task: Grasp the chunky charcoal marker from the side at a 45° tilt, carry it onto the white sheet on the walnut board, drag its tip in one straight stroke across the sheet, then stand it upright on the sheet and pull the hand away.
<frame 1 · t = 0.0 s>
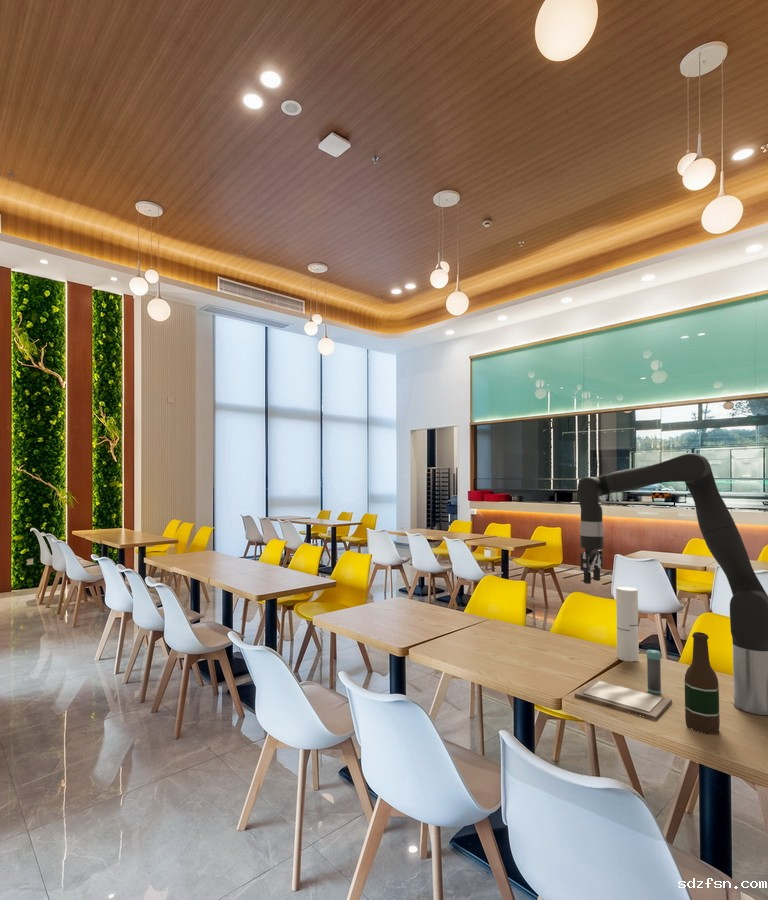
hand: (592, 581, 180), 29 cm above the table, tool pointing down, fingers open, 8 cm apart
beer bottle: (702, 728, 135), on the table
writing board: (622, 699, 152), on the table
marker: (654, 692, 158), on the table
cylindrical container: (627, 659, 189), on the table
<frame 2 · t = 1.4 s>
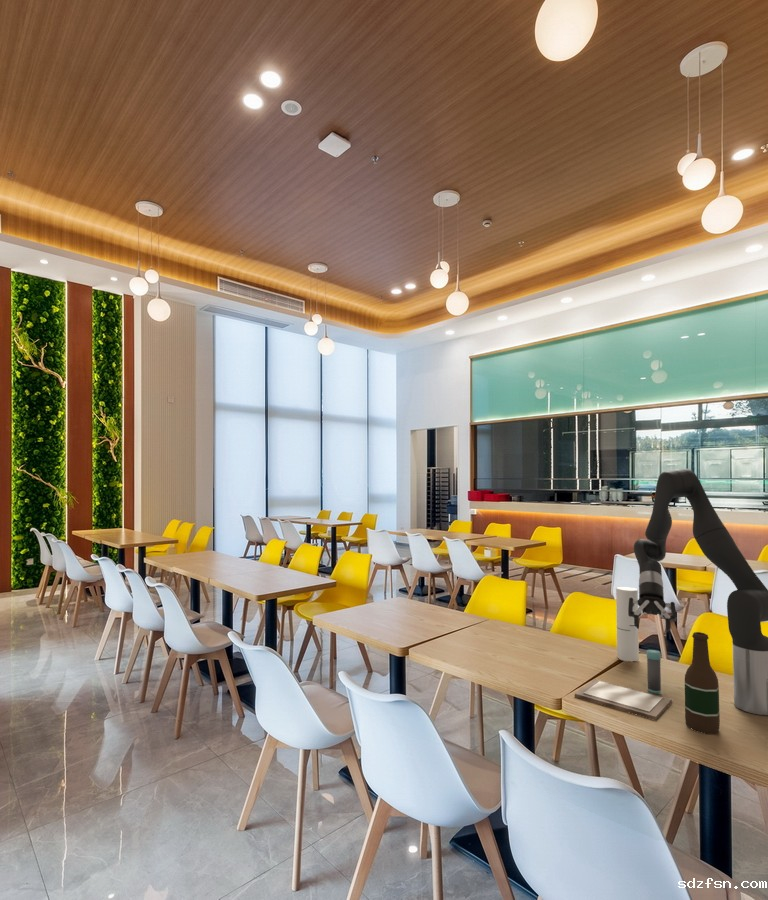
hand: (652, 629, 170), 16 cm above the table, tool tilted 45°, fingers open, 8 cm apart
nothing on the table moved.
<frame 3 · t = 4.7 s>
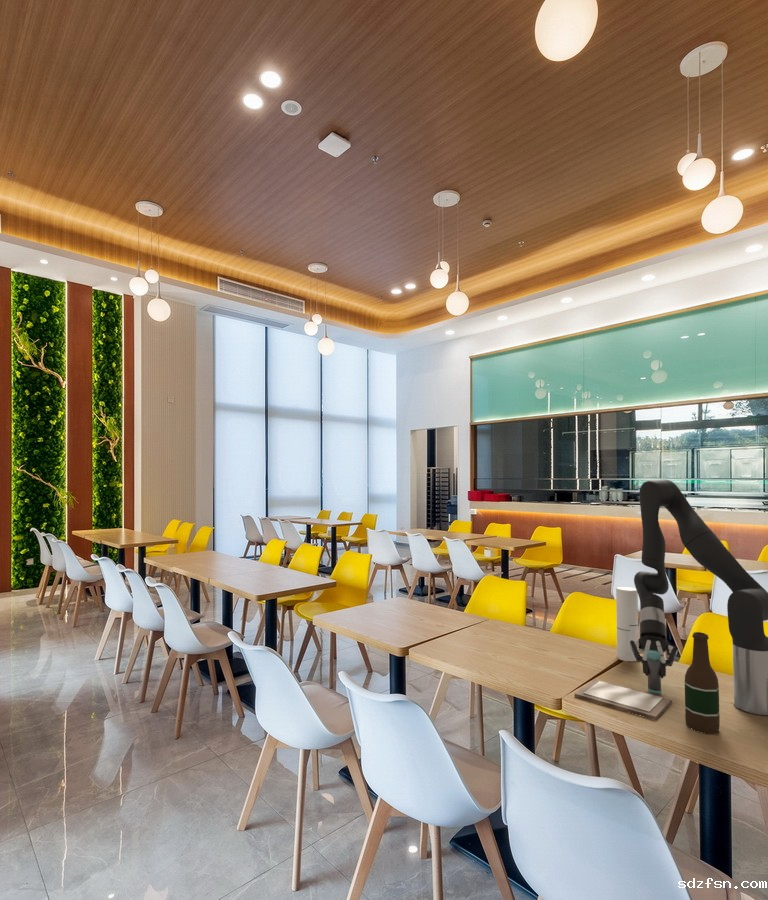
hand: (654, 675, 157), 6 cm above the table, tool tilted 45°, fingers closed on marker, 3 cm apart
marker: (654, 692, 158), on the table, touching gripper
everything else where it was.
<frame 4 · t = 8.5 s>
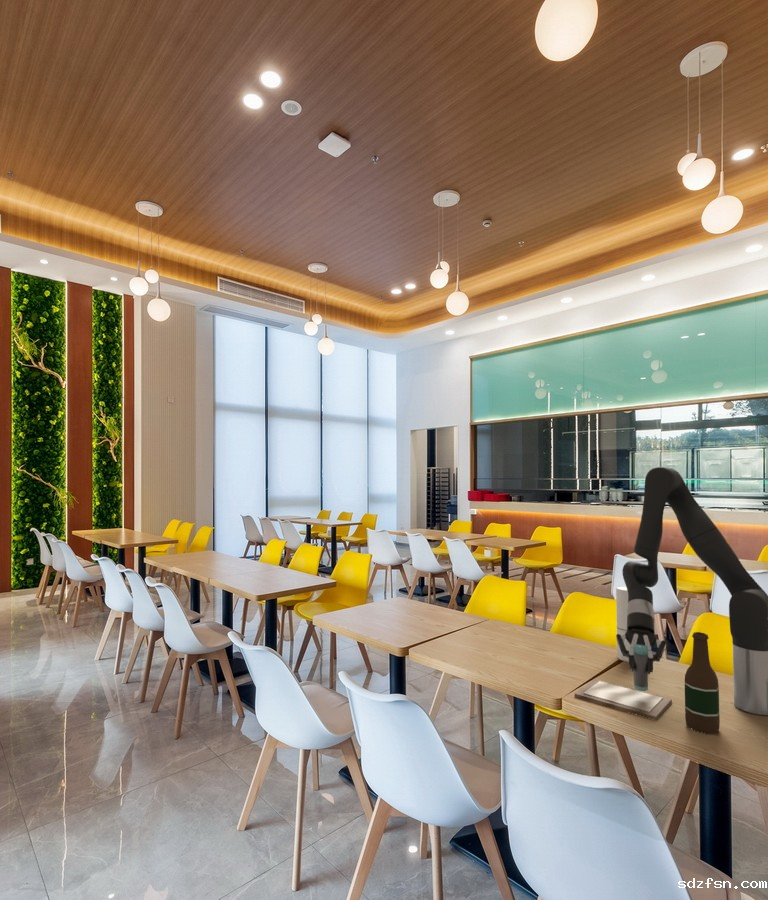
hand: (641, 671, 149), 10 cm above the table, tool tilted 45°, fingers closed on marker, 3 cm apart
marker: (640, 688, 150), point 4 cm above the table, touching gripper
everything else where it was.
when the fingers open (8 cm above the table, at t = 12.4 s): marker stays where it is, resting on writing board.
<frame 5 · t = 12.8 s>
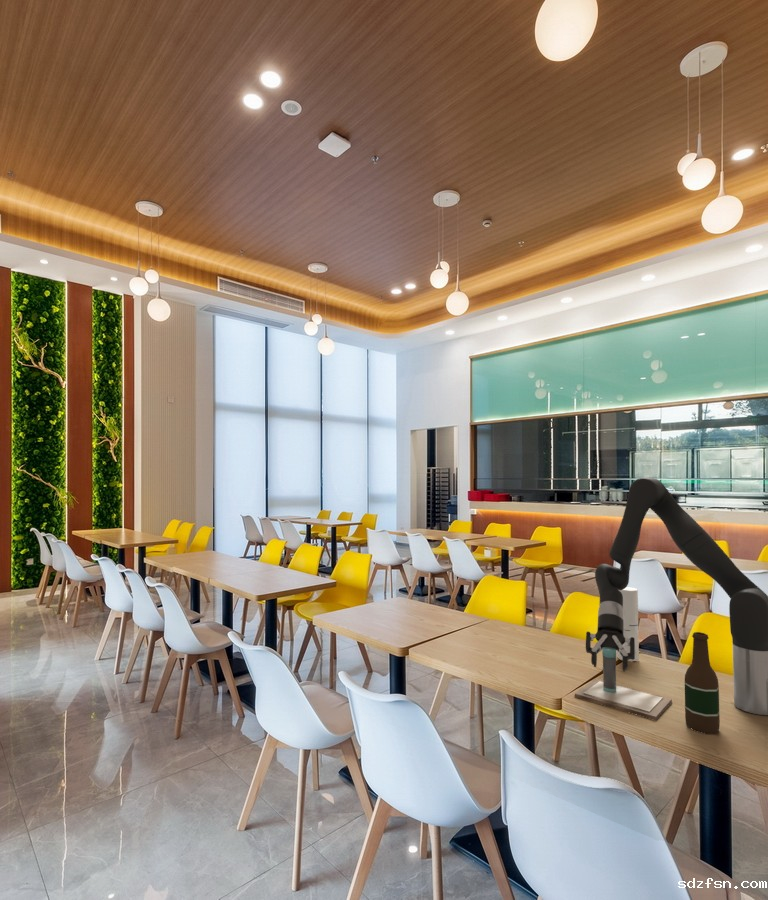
hand: (609, 667, 155), 8 cm above the table, tool tilted 45°, fingers open, 7 cm apart
marker: (609, 690, 156), point 1 cm above the table, touching writing board
everything else where it was.
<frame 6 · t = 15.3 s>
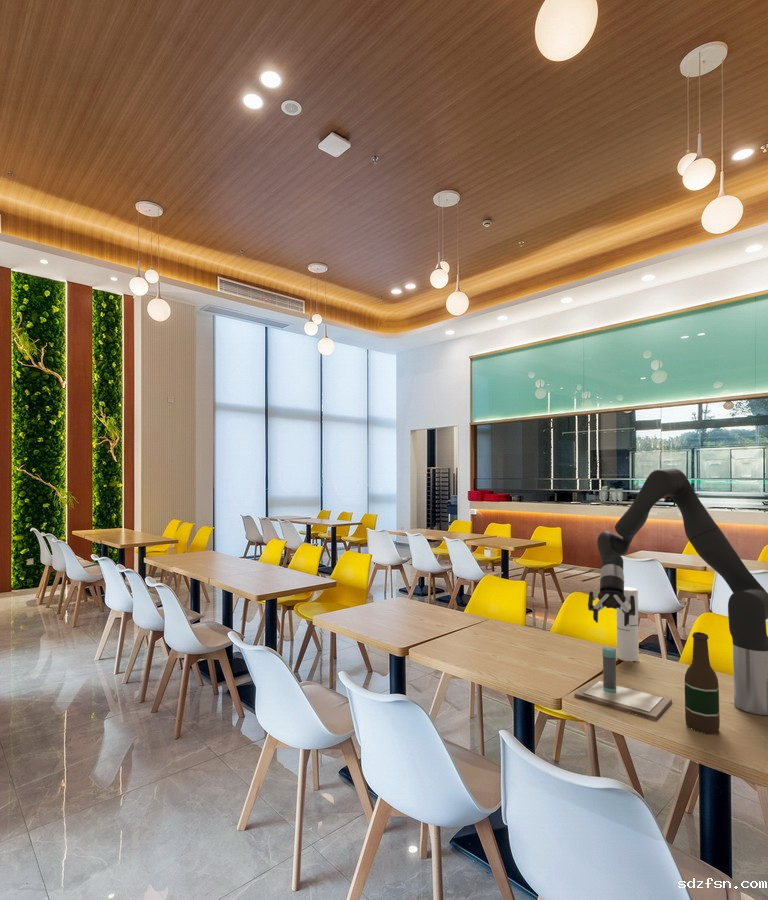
hand: (610, 623, 167), 18 cm above the table, tool tilted 45°, fingers open, 8 cm apart
nothing on the table moved.
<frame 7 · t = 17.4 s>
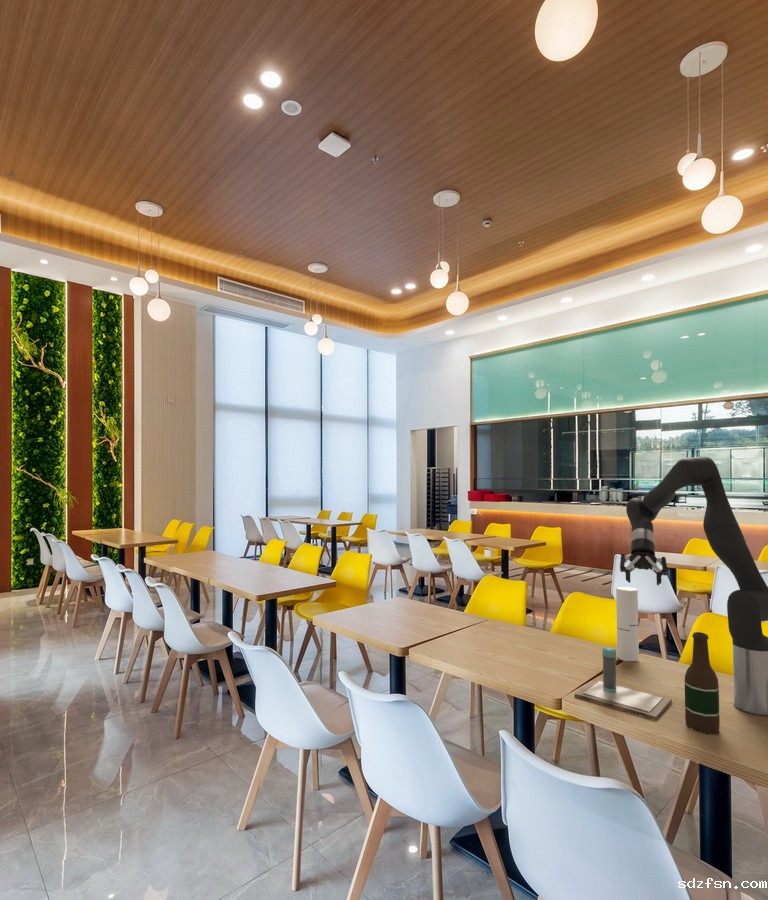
hand: (643, 582, 172), 31 cm above the table, tool tilted 45°, fingers open, 8 cm apart
nothing on the table moved.
at the end: marker inside the target area on the writing board (0.8 cm from its centre), point 1.3 cm above the writing board's base; marker tilted 0°; the gripper is holding nothing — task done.
